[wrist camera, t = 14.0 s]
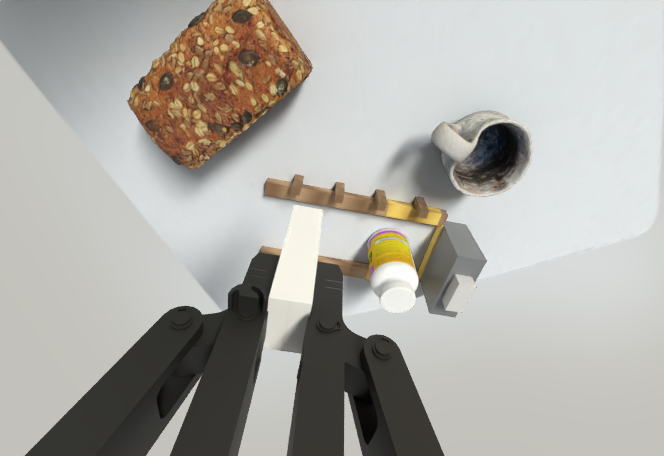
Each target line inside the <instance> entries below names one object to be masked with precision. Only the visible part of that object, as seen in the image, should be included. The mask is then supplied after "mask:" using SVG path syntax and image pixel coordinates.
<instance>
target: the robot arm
mask: <svg viewBox="0 0 664 456" xmlns="http://www.w3.org/2000/svg"><path fill="white" fill-rule="evenodd" d="M322 218H323V210H321V209H316V208H310V207H305V206H299V205H294V208H293V212H292V215H291V219H290V223H289V226H288V230H287V233H286V237H285V241H284V244H283V248H282V251H281V255H280V256H278V255H272V254H266V253H261V252H260V253H258V254H257V255H256V256H255V257H254V258H253V259H252V261H251V263H250V266H249V269H248V271H247V273H246V276H245V279H244V281H243V284H240V285H237V286H235V287H234V288H232V289H231V291H230V292H229V293H228V309H227V310H225V311H222V312H219V313H214V314H205V315H202V314H201V312H200V311H199V310H198V309H196V308H194V307H190V306H181V307H176V308H174V309H171V310H169V311H168V312H167V313H165V314H164V315H163V316H162V317H161V318H160V319H159V320H158V321H157V322H156V323H155V324H154V325H153V326H152V327H151V328H150V329H149V330H148V331H147V332H146V333H145V334H144V335H143V336H142V337H141V338H140V339H139V340H138V341H137V342H136V343H135V344H134V345H133V346H132V348H130V349H129V350H128V351H127V353H126V354H124V356H123V357H122V358H121V359H120V360H119V361H118V362H117V363H116V364H115V365H114V366H113V367H112V368H111V369H110V370H109V371H108V372H107V373H106V374H105V375H104V376H103V377H102V378H101V379H100V380H99V381H98V382H97V383H96V384H95V385H94V386H93V387H92V388H91V389H90V390H89V391H88V392H87V393H86V394H85V395H84V396H83V397H82V398H81V399H80V400H79V401H78V402H77V403H76V404H75V405H74V406H73V407H72V408H71V409H70V410H69V411H68V412H67V414H65V415H64V416H63V417H62V418H61V419H60V421H58V423H56V425H54V427H53V428H52V429H51V430H50V431H49V432H48V433H47V434H46V435H45V436H44V437H43V438H42V439H41V440H40V441H39V442H38V443H37V444H36V445H35V446H34V447H33V448H32V449H31V450H30V451H29V452H28V453H27V454H26V455H25V456H146V455H147V453H148V451H149V450H150V449H151V447H152V446H153V444H154V443H155V442H156V440H157V439H158V437H159V436H160V434H161V433H162V431H163V430H164V429H165V427H166V426H167V424H168V423H169V421H170V420H171V419H172V417H173V416H174V414H175V413H176V411H177V410H178V409H179V407H180V406H181V404H182V403H183V401H184V400H185V398H186V397H187V396H188V394H189V393H190V391H191V390H192V388H193V387H194V385H195V384H196V383H197V381H198V380H199V378H200V377H201V375H202V377H201V379H200V382H199V384H198V387H197V389H196V392H195V394H194V397H193V399H192V402H191V404H190V407H189V409H188V412H187V414H186V417H185V419H184V422H183V424H182V427H181V429H180V432H179V435H178V437H177V439H176V442H175V444H174V447H173V449H172V452H171V454H170V456H238V451H239V448H240V444H241V440H242V436H243V432H244V428H245V423H246V419H247V415H248V411H249V407H250V403H251V399H252V395H253V391H254V387H255V383H256V379H257V374H258V370H259V366H260V362H261V354H262V350H263V348H267V349H274V350H281V351H288V352H294V353H301V361H300V365H299V369H298V374H297V386H296V393H295V400H294V407H293V414H292V422H291V429H290V436H289V443H288V451H287V456H344V391H345V392H347V393H348V397H349V401H350V405H351V409H352V413H353V418H354V422H355V426H356V429H357V434H358V438H359V442H360V447H361V451H362V455H363V456H444V454H443V451H442V449H441V447H440V444H439V442H438V440H437V437H436V435H435V432H434V430H433V428H432V425H431V423H430V421H429V418H428V416H427V413H426V411H425V409H424V406H423V404H422V401H421V399H420V397H419V394H418V392H417V389H416V387H415V385H414V382H413V380H412V377H411V375H410V373H409V370H408V368H407V366H406V363H405V361H404V359H403V356H402V354H401V351H400V349H399V347H398V346H397V344H396V343H395V342H394V341H393V340H391V339H390V338H388V337H386V336H384V335H372V336H369V337H368V338H367V339H366V338H363V337H361V336H359V335H357V334H355V333H353V332H352V331H351V330H349V329H348V328H347V326H346V325H345V324H344V322H343V318H342V289H343V283H342V282H343V273H342V271H341V269H340V267H339V265H337V264H331V263H325V262H319V261H317V260H318V252H319V243H320V235H321V226H322Z"/></svg>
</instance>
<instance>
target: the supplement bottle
mask: <svg viewBox="0 0 664 456" xmlns="http://www.w3.org/2000/svg"><path fill="white" fill-rule="evenodd" d="M367 251H368V262H369V272H370V282H371V287H372V290H373V291H374V293H375V294H376V295H377V296H378V297H379V300H380V304H381V306H382V308H383V309H385V310H386V311H388V312H391V313H402V312H406V311H408V310H410V309H411V308H412V307H413V306H414V304H415V302H416V296H415V291H416V289H417V287H418V282H419V279H418V275H417V271H416V268H415V264H414V261H413V257H412V253H411V249H410V246H409V242H408V239H407V237H406V236H405V235H404V234H403V233H402V232H401V231H399V230H397V229H393V228H385V229H381V230H379V231H377V232H375V233H374V234H373V235H372V236H371V237H370V238H369V240H368V244H367Z"/></svg>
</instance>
